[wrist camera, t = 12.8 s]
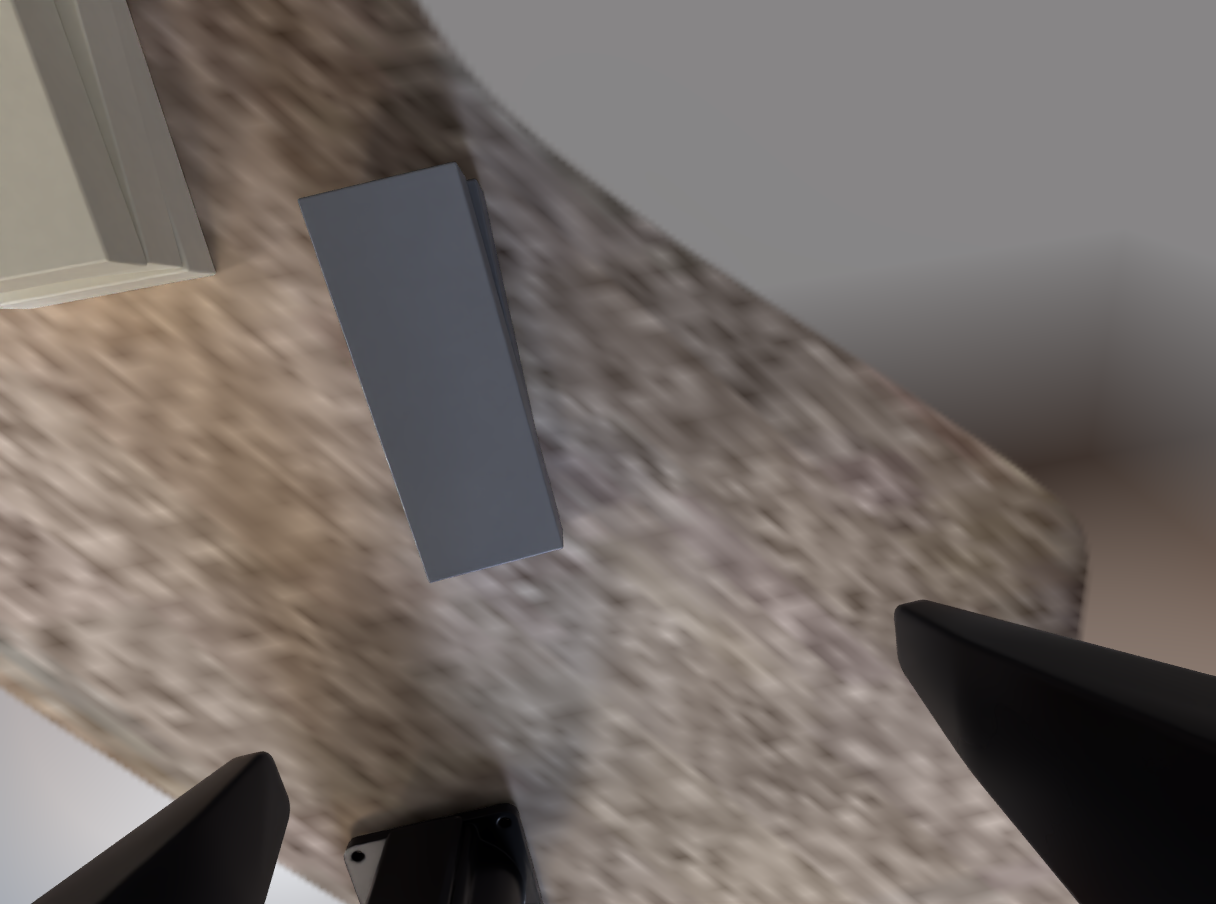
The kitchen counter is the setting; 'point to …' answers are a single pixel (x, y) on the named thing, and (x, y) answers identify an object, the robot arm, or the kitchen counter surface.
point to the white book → (53, 162)
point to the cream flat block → (128, 159)
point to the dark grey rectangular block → (438, 364)
